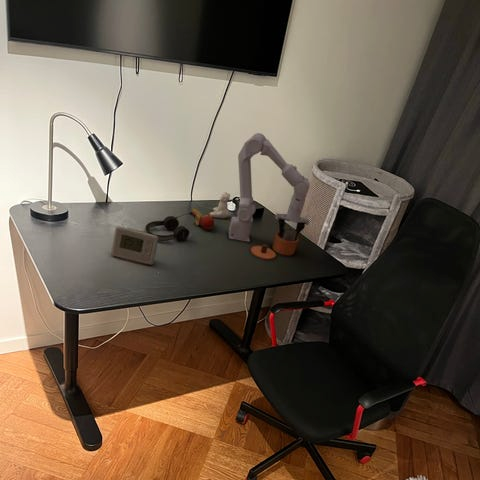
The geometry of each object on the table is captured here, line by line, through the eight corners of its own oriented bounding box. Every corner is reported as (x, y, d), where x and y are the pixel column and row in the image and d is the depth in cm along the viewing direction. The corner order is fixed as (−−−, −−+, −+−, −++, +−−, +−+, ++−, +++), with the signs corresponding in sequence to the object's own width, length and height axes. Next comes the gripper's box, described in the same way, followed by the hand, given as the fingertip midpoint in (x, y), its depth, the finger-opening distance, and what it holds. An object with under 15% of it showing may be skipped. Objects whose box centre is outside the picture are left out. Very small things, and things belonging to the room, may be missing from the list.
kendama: (184, 217, 219) (200, 229, 206) (188, 204, 217) (204, 215, 204) (199, 220, 224) (215, 232, 210) (203, 207, 221) (219, 219, 208)
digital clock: (108, 255, 174) (110, 229, 168) (120, 246, 181) (122, 221, 175) (148, 270, 171) (151, 243, 166) (159, 260, 179) (162, 235, 173)
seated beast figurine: (213, 210, 231) (218, 186, 224) (230, 215, 230) (235, 191, 223) (208, 216, 223) (213, 192, 216) (226, 221, 222) (231, 197, 216)
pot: (273, 253, 205) (277, 239, 201) (270, 243, 213) (274, 229, 209) (295, 257, 207) (300, 243, 203) (292, 247, 215) (296, 233, 211)
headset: (199, 217, 193) (154, 225, 184) (197, 238, 199) (153, 247, 190) (183, 203, 202) (139, 210, 192) (182, 224, 208) (140, 231, 198)
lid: (251, 258, 197) (253, 248, 195) (249, 246, 206) (251, 237, 204) (276, 262, 199) (279, 253, 197) (273, 250, 208) (275, 241, 206)
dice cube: (293, 242, 206) (296, 232, 203) (283, 242, 204) (286, 231, 201) (289, 237, 210) (292, 226, 207) (279, 236, 208) (282, 226, 205)
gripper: (280, 208, 194) (272, 237, 202) (313, 214, 197) (304, 243, 204) (278, 201, 200) (270, 230, 207) (310, 207, 202) (301, 236, 210)
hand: (287, 236), depth 206 cm, fingers closed on dice cube, 6 cm apart
